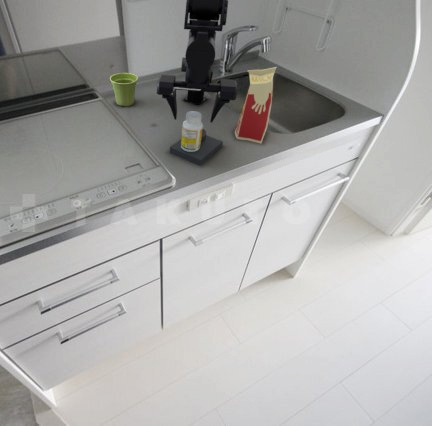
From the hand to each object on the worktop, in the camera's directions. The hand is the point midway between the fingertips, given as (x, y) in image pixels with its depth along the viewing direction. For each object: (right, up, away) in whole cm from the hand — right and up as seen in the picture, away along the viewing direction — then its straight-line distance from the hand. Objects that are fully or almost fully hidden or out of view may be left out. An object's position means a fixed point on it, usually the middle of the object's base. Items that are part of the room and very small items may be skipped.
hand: (193, 120), depth 78 cm
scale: (+2, -6, +8) cm, 10 cm away
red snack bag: (+19, 0, +15) cm, 24 cm away
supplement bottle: (0, -6, +6) cm, 8 cm away
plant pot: (-21, +15, +29) cm, 39 cm away
